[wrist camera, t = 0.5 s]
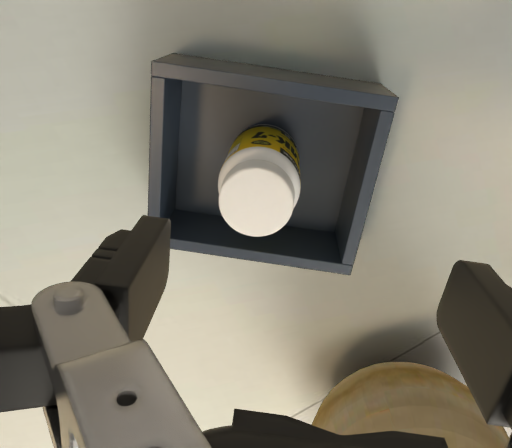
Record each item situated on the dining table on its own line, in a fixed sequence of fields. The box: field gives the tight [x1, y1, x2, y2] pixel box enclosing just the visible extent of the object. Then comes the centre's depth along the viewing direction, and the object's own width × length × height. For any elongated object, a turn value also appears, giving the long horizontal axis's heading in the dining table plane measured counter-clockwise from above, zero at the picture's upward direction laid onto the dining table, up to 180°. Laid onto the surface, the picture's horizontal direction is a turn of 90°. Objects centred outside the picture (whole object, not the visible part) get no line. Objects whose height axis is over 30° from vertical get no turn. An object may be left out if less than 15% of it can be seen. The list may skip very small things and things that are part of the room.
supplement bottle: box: [218, 124, 301, 237], centre depth 27 cm, size 5×5×8 cm
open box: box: [148, 53, 399, 275], centre depth 29 cm, size 12×14×5 cm
